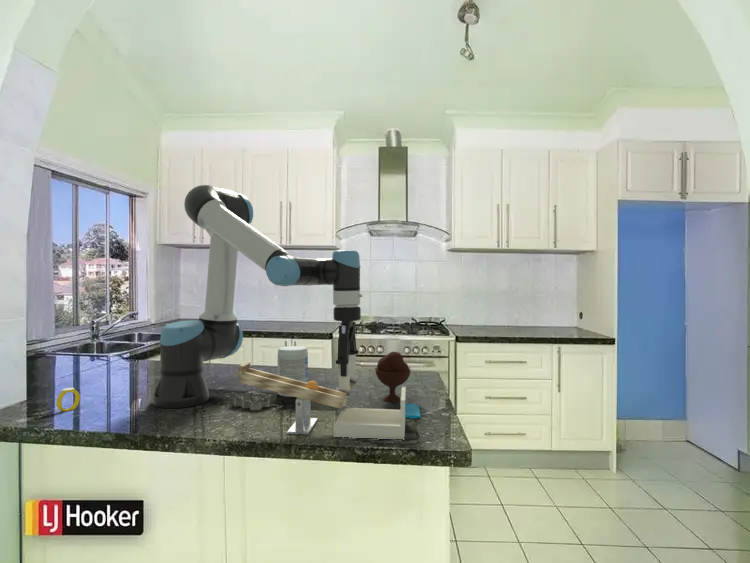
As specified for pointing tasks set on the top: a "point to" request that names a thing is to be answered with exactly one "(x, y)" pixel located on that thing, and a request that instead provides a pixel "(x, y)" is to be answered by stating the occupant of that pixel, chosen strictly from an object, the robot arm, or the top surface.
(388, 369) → the ice cream bowl
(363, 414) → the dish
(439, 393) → the top surface
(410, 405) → the sponge
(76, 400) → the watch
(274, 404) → the top surface
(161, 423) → the top surface
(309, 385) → the ball
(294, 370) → the supplement tub
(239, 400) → the egg carton
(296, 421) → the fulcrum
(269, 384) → the beige angled channel
